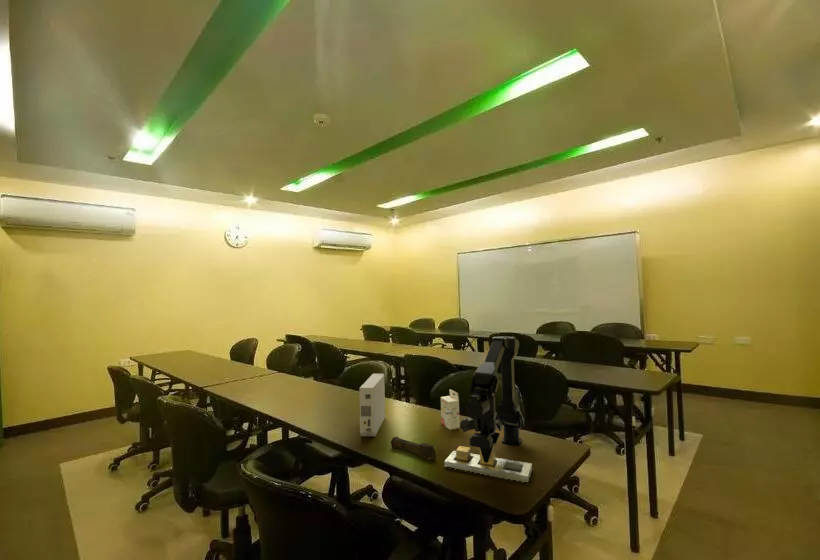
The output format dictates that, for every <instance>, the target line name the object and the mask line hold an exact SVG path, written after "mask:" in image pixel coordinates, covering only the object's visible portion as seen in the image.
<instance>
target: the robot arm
mask: <svg viewBox="0 0 820 560" xmlns="http://www.w3.org/2000/svg"><path fill="white" fill-rule="evenodd" d="M519 348H520V341H519V340H518V339H517V338H516V336H505V335H504V336H503V335H502V336H501V335H500V336H493V337H492V338H491V344H490V347H489V350H488V352H487V354H486V357H485V360H484V362H483V363H482V364H480V365H479V366H477V368H476V370H475V372H474V373H473V375H472V377H471V378H472V379H471V383H470V387H469V390H468V393H469V394H470V395H471V397H470V400H469V401H467V402H466V404H465V409H464V411H465V414H466V415H467V416H468V417H466V418H465V417H464V418H463V419H461V420H460V421H459V423H460V428H459V429H460V430H462V432H463V433H467V432H469V431H473V430H474V433H473V435H472V436H471V437H470V438H469V446H471V447H473V448H474V447H476V448H479V451H480V450H481V453H482V456H483V460H484V462H485V463H488V461H489V458H490V455H491V452H492V449H493V446H494V443H495V446H496V445H497V442H498V439H499V436H500V435H501V434H500V433H499V432H502V430H503V438H502V440H501V443H502V444H508V445H515V446H520V444H521V442H522V441H523V440H522V437H520V429H521V428H525V418H524V416H523V414H522V411H521V408H520V407H521V406H520V404H519V402H518V400H517V399H516V389H515V384H516V383H515V358H516V357H517V355H518V354H519ZM500 364H501V366H500ZM499 366H500V367H501V401H500V403H499V404H497V405H498V406H497V410H496V396H495V395H496V394H497V392H498V388H499V384H500V379H499V375H498V369H499ZM496 417H497V419H496ZM497 430H498V432H496V431H497Z"/></svg>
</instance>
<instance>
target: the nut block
mask: <svg viewBox="0 0 820 560" xmlns="http://www.w3.org/2000/svg"><path fill="white" fill-rule="evenodd" d="M479 455H480V465H483V466H489V467H495V466H494V464H495V462H496V459H495V458H496V445H495V443H494V446H493V449H492V452H491V455H490V458H489V461H488V463H485V462H484V460H483V456H482V453H481V450H480V449H479Z"/></svg>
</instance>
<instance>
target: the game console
mask: <svg viewBox="0 0 820 560" xmlns="http://www.w3.org/2000/svg"><path fill="white" fill-rule="evenodd" d="M358 393H359V433H360V434H359V435H360V436H361V437H376V436H377V433H378V432H379V429H380V428H381V426H382V424H383V422H384V420H385V418H386V405H385V404H386V403H385V402H386V400H385V398H386V397H385V393H386V392H385V374H384V373H372V374H371V375H370V376H369V377H368V378H367V379H366V381H365V382H364V383H363V384H362V385H361V386H360V387H359V391H358Z"/></svg>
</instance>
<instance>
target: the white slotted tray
mask: <svg viewBox="0 0 820 560" xmlns="http://www.w3.org/2000/svg"><path fill="white" fill-rule="evenodd" d="M471 449H472V448H471V447H469V446H464V445H463V446H462V445H459V446H457V449H456V450H453V451H452V452H451V453H450V454H449V456H447V458H446V459H445V460H444V468H445V467H451V468H455V469H454V470H456V469H461V470H465V471H464V472H466V471H470V472H469V473H472V472H474V473H473V474H477V473H480V474H479V475H482V474H484V475H483V476H487V475H489V476H488V477H493V478H498V479H503V478H504V479H503V480H508V479H510V480H509V481H513V480H516V481H515V482H519V481H521V482H520V483H524V482H528V481H530V479H529V478H531V476H532V475H531V474H532V471H533V463H529V462H524V461H517V460H513V459H512V460H511V459H506V458H500V457H495V459H496V462H495V464H494V466H493V467H489V466H483V465H480V454H476V453H472V452H471V451H472V450H471ZM451 468H450V469H451ZM461 470H460V471H461ZM528 483H529V482H528Z"/></svg>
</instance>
